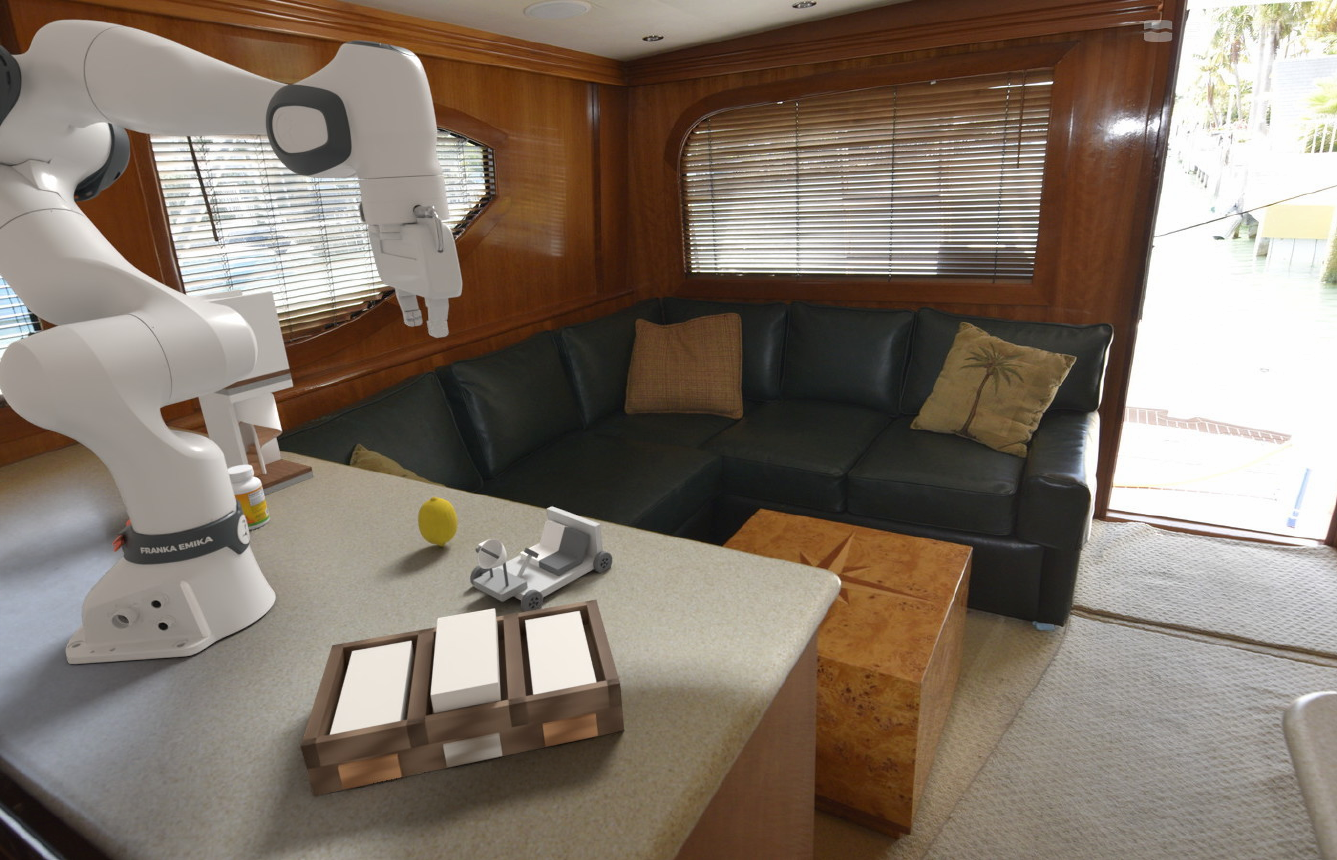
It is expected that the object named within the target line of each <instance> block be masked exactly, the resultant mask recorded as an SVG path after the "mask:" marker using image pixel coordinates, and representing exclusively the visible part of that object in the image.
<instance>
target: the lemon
mask: <svg viewBox="0 0 1337 860" xmlns="http://www.w3.org/2000/svg"><path fill="white" fill-rule="evenodd" d="M458 522H459V521H458V516H457V513H456V510H455V508H454V506H453V505H452V503H451V502H450V501H448V500H446V499H444V498H442V497H437V496H431V498H430V499H428V500H426V501H425V502H424V503H423V504H422V505H421V506H420V509H419V511H418V515H417V525H418V528H419V530H418V531H419V532H420V535H421V536H422V538H423V539H424V540H425V541H426V542H428V543H430V544H433V545H437V546H439V547H444V546H445V545H446V543H448V542H450V541H451V540H452V539H453V538H454V537H455V536H456V534H457V532H458Z"/></svg>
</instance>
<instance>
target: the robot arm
mask: <svg viewBox="0 0 1337 860" xmlns="http://www.w3.org/2000/svg"><path fill="white" fill-rule="evenodd" d="M437 127H438V126H437V119H436V114H435V108H434V101H433V97H432V93H431V88H430V83H429V80H428V77H427V73H426V71H425V69H424V65H423V63H422V62H421V59H420V58H419V57H418V56H417V55H416V54H415V53H414V52H413V51H411V50H409V49H407V48H405V47H401V46H396V45H393V44H387V43H382V42H376V41H369V40H360V39H359V40H350V41H347V42H345V43H343V44H341V45H340V46H339V48H338V51H337V52H336V55H335V56H334V58H333V59H332V60H331V61H329V63H328V64H326V65H325V66H324V67H323V68H321V69H319V70H317V72H315V73H313V74H311V75H310V76H308V77H305V78H303V79H302V80H299V81H297V82H295V83H291V84H289V83H285V82H282V81H277V80H273V79H269V78H267V77H263V76H261V75H258V74H255V73H252V72H249V71H247V70H245V69H242V68H240V67H237V66H236V65H233V64H230V63H227V62H225V61H223V60H219V59H217V58H215V57H212V56H210V55H207V54H204V53H203V52H200V51H197V50H195V49H193V48H190V47H188V46H186V45H183V44H181V43H179V42H176V41H174V40H171V39H169V38H165V37H163V36H160V35H157V34H154V33H151V32H148V31H145V30H141V29H138V28H135V27H130V26H125V25H122V24H118V23H112V22H106V21H98V20H91V19H90V20H89V19H84V20H83V19H61V20H55V21H52V22H48V23H46V24H45V25H43V26H42V27H41V28H39V30H37V32H36V33H35V35H34V36H33V38H32V40H31V44H30V46H29V48H28V50H27V51H25V52H24V53H21V54H11V53H10V52H9V51H8V49H6V47H4V46H3V45H1V44H0V276H1V278H2V279H3V281H5V283H6V284H7V285H8V286H9V287H10V289H11V290H12V291H13V292H14V293H15V295H16V296H17V297H18V299H20V301H21V302H22V303H23V305H24V306H25V307H26V308H27V309H28V310H29V311H30V312H31V313H33V314H34V315H35V316H37V317H38V318H40V319H42V320H44V321H46V322H47V323H50V324H53V325H55V326H54V327H51V328H49V329H45V330H42V331H39V332H36V333H34V334H31V335H29V336H25V337H23V338H21V339H19V340H16V341H13V342H11V343H10V344H8V345H7V347H6V349H5V351H3V354H2V356H1V358H0V391H1V394H2V396H3V398H4V399H5V401H6V403H7V404H8V405H9V406H10V408H11V409H12V410H13V411H14V412H15V413H16V414H17V415H19V416H20V417H22V419H24V420H26V421H27V422H29V423H31V424H33V425H34V426H37V427H39V428H41V429H43V430H49V431H53V432H56V433H58V434H61V435H64V436H66V437H69V438H71V439H73V440H76V442H78V443H80V444H82V445H83V446H85V447H86V448H87V449H89V450H91V451H92V453H94V454H95V455H96V456H97V458H99V460H101V461H102V462H103V464H104V465H105V466H106V467H107V469H108V470H109V472H110V474H111V476H112V478H113V480H114V482H115V484H116V486H117V489H118V490H119V491H118V492H119V495H120V497H121V499H122V501H123V503H124V507H125V510H126V512H127V515H128V517H129V518H128V519H127V521H126V526H125V527H124V528H123V529H121V530H120V531H119V533H117V538H115V540H114V541H112V544H111V545H112V546H114V547H113V552H114V553H117V552H118V551H119V550H120V549H122V552H123V556H122V557H121V558H120V559H119V560H118V561H117V562H116V563H115V564H113V566H112V567H110V569H108V571H106V572H105V574H104V575H102V577H101V578H100V579H99V580H97V582H96V583H95V584H94V585H93V586H92V588H90V590H89V591H88V593H87V595H86V596H85V598H84V600H83V603H82V607H81V625H80V626H79V627H78V628H77V630H76V631H74V633H73V635H72V636H71V637H70V638H69V641H68V642H67V645H66V647H65V657H66V658H65V659H66V661H67V662H68V664H70V665H78V664H95V663H107V662H108V663H109V662H121V661H122V662H123V661H124V662H125V661H136V660H151V659H164V658H179V657H188V656H193V655H195V654H198V653H200V652H201V651H203V650H204V649H207V648H209V646H211V645H212V644H214V643H216V642H217V641H219V640H222V639H224V638H225V637H227V636H230V635H232V634H235V633H237V632H239V631H241V630H243V629H245V628H247V627H248V626H250V625H252V624H254V623H255V622H257V621H258V620H259V619H260V618H262V617H263V616H264V615H265V614H267V613H268V612H269V610H270V609H272V607H273V606H274V604H275V601H276V598H277V597H276V593H275V591H274V589H273V588H272V586H270V584H269V583H268V581H267V579H266V577H265V575H264V574H263V572H262V571H261V568H260V566H259V564H258V562H257V560H256V558H255V554H254V552H253V550H252V548H251V545H250V543H251V538H250V530H249V529H248V524H247V521H246V518H245V516H244V514H243V510H242V507H241V504H240V502H239V501H238V500H237V499H235V495H234V492H233V488H232V484H231V480H230V476H229V472H228V469H227V465H226V461H225V457H224V454H223V452H222V450H221V449H220V448H219V447H218V446H217V444H216V443H214V442H213V441H212V440H210V438H209V437H206V436H204V435H201V434H198V433H193V432H189V431H183V430H176V429H175V430H174V429H170V428H169V427H168V426H167V425H166V423H165V421H164V418H163V416H162V413H161V408H163V407H166V406H169V405H173V404H176V403H181V402H184V401H188V400H191V399H195V398H199V396H203V395H207V394H210V393H214V392H217V391H219V390H221V389H223V388H225V387H227V386H229V385H231V384H233V383H235V382H237V381H239V380H241V379H243V378H245V377H247V376H248V375H249V374H251V372H252V371H253V369H254V367H255V364H256V361H257V355H258V347H257V341H256V337H255V334H254V332H253V330H252V328H251V327H250V325H249V324H248V322H247V321H246V320H245V319H244V318H243V317H242V316H241V315H240V314H239V313H238V312H236V311H235V310H233V309H232V308H230V307H228V306H225V305H220V304H215V303H210V302H206V301H203V300H199V299H196V298H193V297H192V296H190V295H188V294H185V293H182V292H180V291H178V290H176V289H173V288H171V286H168V285H166V284H164V283H162V282H159V281H158V280H157V279H154V278H153V277H150V276H149V275H147V274H146V273H144V272H142V271H141V270H139V269H138V268H136V267H135V266H134V265H133V264H132V263H130V262H129V261H128V260H127V259H126V258H125V257H124V256H123V255H122V254H121V253H120V252H119V251H118V250H117V249H116V248H115V247H114V246H113V245H112V244H111V243H110V241H108V240H107V238H106V237H105V236H104V235H103V234H102V233H101V231H100V230H99V228H97V227H96V226H95V225H94V223H93V222H92V221H91V220H90V219H89V218H88V217H87V215H86V214H85V213H84V212H83V211H82V210H81V208H80V207H79V206H78V204H77V203H76V202H84V201H85V202H86V201H89V200H92V199H95V198H96V197H98V196H99V195H100V193H101V192H102V191H104V190H106V189H108V188H110V186H112V185H113V184H114V183H115V182H116V181H117V180H118V179H120V177H121V176H122V175H123V174H124V172H125V171H126V169H127V167H128V165H129V162H130V158H131V145H130V144H131V143H130V138H129V135H128V132H127V130H130V131H135V132H138V133H143V134H148V135H155V136H165V137H209V136H228V135H229V136H231V135H256V136H257V135H258V136H259V135H261V136H264V135H265V136H267V138H268V142H269V145H270V146H271V149H272V151H273V152H274V154H275V156H276V157H277V158H278V159H279V161H280V162H281V163H282V165H284V167H285V168H287V169H288V170H289V171H291V172H293V173H295V174H296V175H298V176H299V175H300V176H304V177H309V178H314V179H355V178H357V179H358V186H359V191H360V203H359V204H358V210H359V217H360V220H361V223H362V224H365V225H367V233H368V238H369V243H370V247H371V251H372V254H373V259H374V262H375V263H374V264H375V267H376V270H377V273H378V275H379V278H380V280H381V282H382V284H383V285H385V286H388V287H391V288H394V291H395V295H396V298H397V302H398V304H399V306H400V310H401V312H402V316H403V323H404V324H405V325H406V326H408V327H418V326H421V325H423V318H422V317H423V316H422V310H420V307H419V302H418V299H417V296H419V297H422V298H424V302H425V303H424V304H425V307H426V308H427V315H428V319H427V320H426V325H427V331H428V334H429V336H431V337H434V338H436V339H438V338H445V337H447V336H448V335H449V327H448V321H447V320H448V315H449V308H450V304H449V299H450V298H458V297H460V296H461V295H462V292H463V291H462V290H463V279H462V272H461V267H460V262H459V257H458V250H457V247H456V242H455V239H454V238H455V237H454V235H453V231H452V230H451V227H450V226H449V225H448V224H447V223H444V222H442V221H447V220H450V211H449V205H448V197H447V191H446V190H447V189H446V184H445V183H446V182H445V175H444V172H443V168H442V166H441V163H440V160H439V159H438V155H437V154H438V153H437V140H438V128H437ZM126 129H127V130H126Z"/></svg>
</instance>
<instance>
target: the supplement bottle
mask: <svg viewBox="0 0 1337 860" xmlns="http://www.w3.org/2000/svg"><path fill="white" fill-rule="evenodd" d="M228 472H229V476H230V480H231V484H232V488H233V492H234V495H235V499H237V500H238V501H239V502H240V504H241V507H242V510H243V514H244V516H245V518H246V521H247V524H248V529H249V531H250V530H254V529H258V528H261V527H263V526H264V525H266V524H268V523H269V522H270V519H271V516H270V511H269V508H268V504H267V500H266V497H265V496H266V495H265V496H264V492H263V488H262V484H261V481H260V479H258V478H257V477H253V475H254V471H253V468H252V466H251V465H238V466H234V467H231V468H229V469H228Z"/></svg>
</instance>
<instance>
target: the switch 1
mask: <svg viewBox="0 0 1337 860" xmlns="http://www.w3.org/2000/svg"><path fill="white" fill-rule="evenodd" d="M414 659H415V655H414V650H413V645H412V641H407V642H401V643H396V644H390V645H384V646H379V647H373V648H367V649H362V650H356V651H352V654H351V658H350V661H349V665H348V669H347V673H346V676H345V680H344V684H343V687H342V691H341V695H340V699H339V702H338V706H337V710H336V714H335V717H334V721H333V725H332V728H331V732H330V735H331V734H336V733H341V732H346V731H351V730H356V729H361V728H367V727H372V726H377V725H382V724H387V723H392V722H397V721H402V720H406V719H407V711H408V704H409V696H410V689H411V681H412V674H413V666H414Z"/></svg>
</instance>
